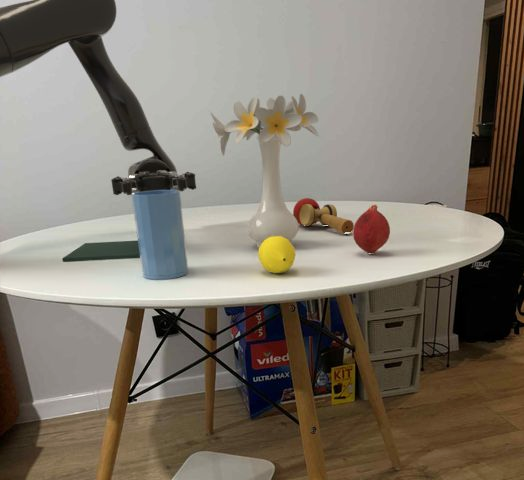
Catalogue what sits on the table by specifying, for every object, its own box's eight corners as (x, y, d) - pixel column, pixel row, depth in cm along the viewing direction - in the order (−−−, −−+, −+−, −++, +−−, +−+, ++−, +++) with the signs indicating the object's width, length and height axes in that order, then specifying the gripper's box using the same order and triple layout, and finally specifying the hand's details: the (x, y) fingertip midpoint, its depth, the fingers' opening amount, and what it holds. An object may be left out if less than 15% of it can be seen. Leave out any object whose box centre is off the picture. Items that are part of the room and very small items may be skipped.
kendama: (364, 238, 102) (315, 216, 116) (364, 208, 98) (313, 189, 112) (333, 250, 100) (286, 226, 113) (332, 219, 96) (283, 199, 110)
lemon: (254, 269, 77) (252, 233, 75) (288, 265, 78) (287, 230, 76) (265, 280, 70) (264, 242, 68) (302, 276, 72) (301, 238, 70)
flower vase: (215, 245, 96) (203, 99, 86) (307, 237, 99) (305, 96, 90) (227, 259, 84) (215, 92, 74) (331, 249, 88) (332, 89, 78)
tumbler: (139, 280, 73) (127, 195, 69) (147, 269, 80) (136, 191, 75) (185, 278, 74) (176, 193, 69) (190, 267, 80) (182, 189, 75)
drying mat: (62, 261, 88) (62, 258, 88) (85, 246, 101) (85, 243, 101) (164, 256, 89) (164, 252, 88) (174, 241, 101) (174, 238, 101)
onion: (369, 260, 79) (371, 207, 76) (345, 254, 84) (346, 204, 81) (395, 254, 82) (399, 204, 79) (371, 249, 86) (373, 201, 83)
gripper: (112, 161, 94) (106, 164, 79) (188, 156, 96) (196, 159, 82) (119, 202, 97) (114, 213, 82) (192, 197, 99) (200, 206, 85)
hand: (155, 186), depth 82 cm, fingers open, 8 cm apart
